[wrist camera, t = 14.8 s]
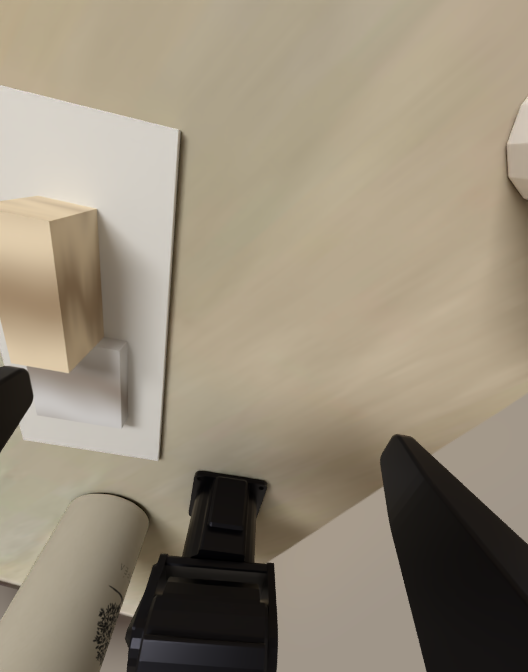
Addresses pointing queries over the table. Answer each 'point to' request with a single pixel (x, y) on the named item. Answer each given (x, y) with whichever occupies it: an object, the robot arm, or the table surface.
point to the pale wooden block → (60, 311)
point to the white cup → (519, 151)
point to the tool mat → (104, 242)
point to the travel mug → (74, 589)
